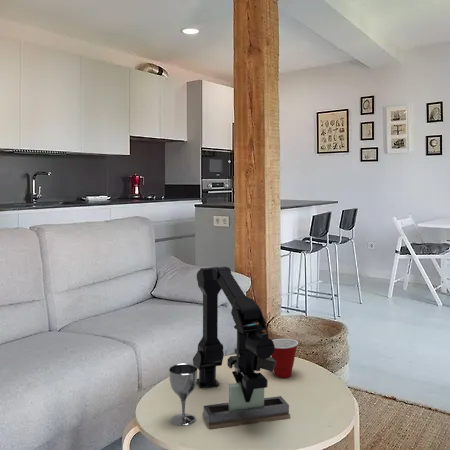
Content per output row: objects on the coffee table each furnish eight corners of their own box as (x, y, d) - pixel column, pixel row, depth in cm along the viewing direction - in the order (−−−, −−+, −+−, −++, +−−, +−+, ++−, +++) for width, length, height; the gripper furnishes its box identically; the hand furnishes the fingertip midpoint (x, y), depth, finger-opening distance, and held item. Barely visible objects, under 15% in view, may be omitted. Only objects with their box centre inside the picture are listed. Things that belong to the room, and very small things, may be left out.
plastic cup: (276, 366, 184) (276, 334, 183) (303, 373, 178) (303, 340, 177) (260, 376, 176) (261, 342, 174) (288, 383, 169) (288, 349, 168)
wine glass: (186, 429, 139) (186, 376, 137) (163, 421, 143) (163, 370, 142) (202, 417, 146) (202, 367, 144) (180, 410, 150) (180, 361, 148)
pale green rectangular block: (228, 410, 146) (228, 384, 145) (261, 406, 148) (261, 380, 148) (230, 414, 143) (231, 387, 143) (263, 410, 146) (264, 383, 145)
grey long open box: (202, 415, 146) (202, 404, 146) (279, 405, 153) (279, 394, 153) (209, 429, 139) (209, 417, 138) (290, 418, 145) (290, 406, 145)
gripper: (285, 356, 137) (284, 411, 139) (261, 335, 155) (261, 384, 157) (246, 360, 134) (246, 416, 136) (227, 338, 152) (226, 388, 154)
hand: (246, 399), depth 146 cm, fingers closed on pale green rectangular block, 2 cm apart
